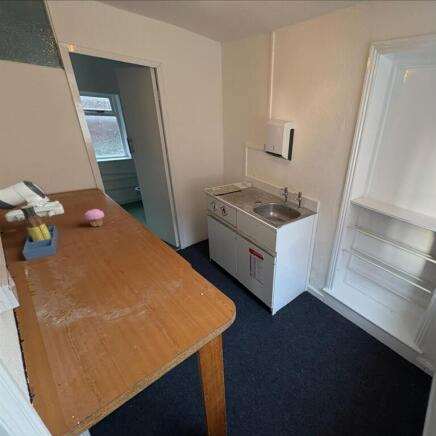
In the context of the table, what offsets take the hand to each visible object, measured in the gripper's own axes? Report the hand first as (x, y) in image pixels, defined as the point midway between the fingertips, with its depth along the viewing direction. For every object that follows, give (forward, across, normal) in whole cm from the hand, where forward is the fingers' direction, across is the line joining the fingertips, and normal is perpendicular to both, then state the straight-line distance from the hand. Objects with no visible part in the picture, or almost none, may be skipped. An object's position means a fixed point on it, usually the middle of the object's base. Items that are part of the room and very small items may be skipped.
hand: (35, 217), depth 112 cm
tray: (+6, 0, +13) cm, 14 cm away
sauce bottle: (+5, 0, +12) cm, 14 cm away
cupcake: (-8, +22, +13) cm, 26 cm away
